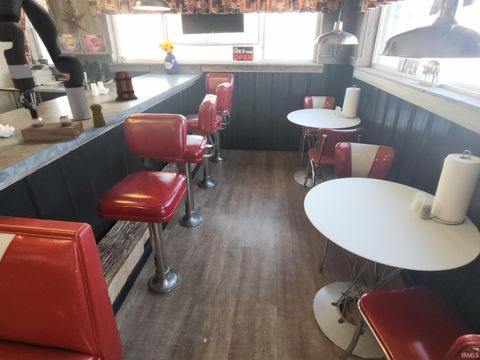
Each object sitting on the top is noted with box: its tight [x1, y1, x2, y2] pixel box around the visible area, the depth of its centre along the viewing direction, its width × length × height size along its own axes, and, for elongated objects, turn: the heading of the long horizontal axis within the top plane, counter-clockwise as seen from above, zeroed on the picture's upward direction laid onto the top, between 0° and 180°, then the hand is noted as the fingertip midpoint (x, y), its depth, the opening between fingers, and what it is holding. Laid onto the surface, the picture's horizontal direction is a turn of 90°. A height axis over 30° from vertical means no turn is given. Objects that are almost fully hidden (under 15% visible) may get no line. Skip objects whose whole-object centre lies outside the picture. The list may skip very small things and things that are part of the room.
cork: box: [89, 103, 107, 128], centre depth 144 cm, size 6×6×11 cm
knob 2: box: [58, 115, 73, 126], centre depth 128 cm, size 4×4×7 cm
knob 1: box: [29, 116, 44, 127], centre depth 127 cm, size 4×4×7 cm
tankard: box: [114, 71, 139, 102], centre depth 217 cm, size 24×17×20 cm
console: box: [20, 120, 85, 143], centre depth 129 cm, size 12×21×5 cm, turn 99°
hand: (35, 117), depth 125 cm, fingers closed
